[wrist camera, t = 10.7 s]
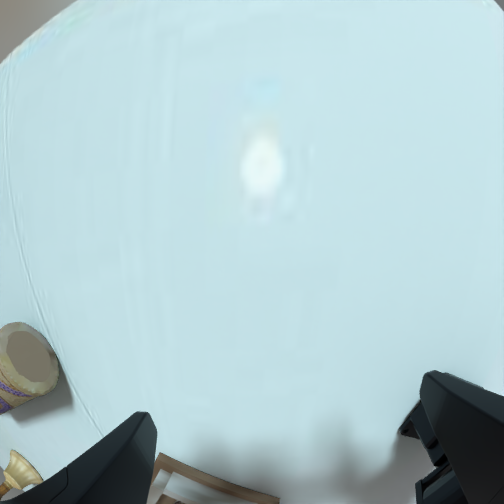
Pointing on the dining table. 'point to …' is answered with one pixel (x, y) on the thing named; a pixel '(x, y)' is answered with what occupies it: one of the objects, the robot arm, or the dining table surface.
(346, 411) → the dining table surface
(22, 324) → the decorative bottle
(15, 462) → the hand bell
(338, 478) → the dining table surface
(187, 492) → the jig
